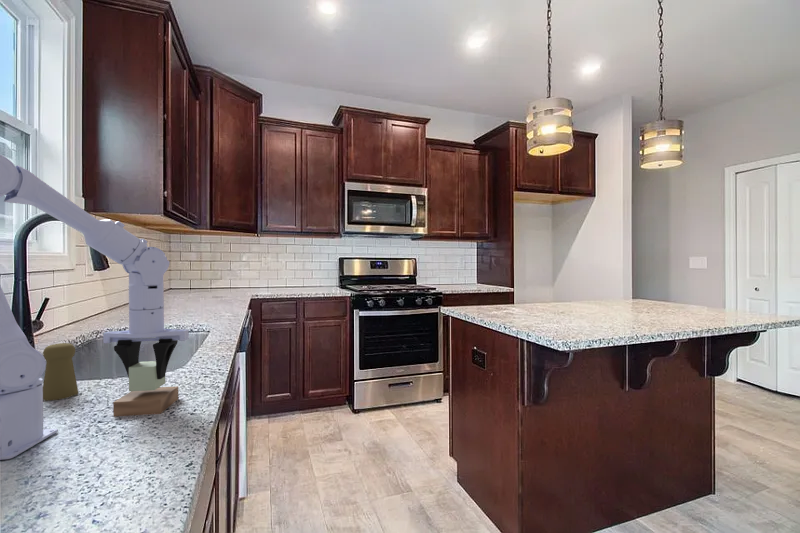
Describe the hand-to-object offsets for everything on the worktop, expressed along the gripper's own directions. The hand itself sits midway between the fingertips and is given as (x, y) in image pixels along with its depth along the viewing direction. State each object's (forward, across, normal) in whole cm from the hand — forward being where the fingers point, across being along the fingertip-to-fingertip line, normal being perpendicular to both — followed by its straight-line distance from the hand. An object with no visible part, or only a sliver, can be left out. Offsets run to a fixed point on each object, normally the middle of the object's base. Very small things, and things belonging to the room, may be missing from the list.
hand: (147, 378), depth 76 cm
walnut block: (+6, 0, 0) cm, 6 cm away
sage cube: (+2, 0, 0) cm, 2 cm away
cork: (+6, +22, -10) cm, 25 cm away
